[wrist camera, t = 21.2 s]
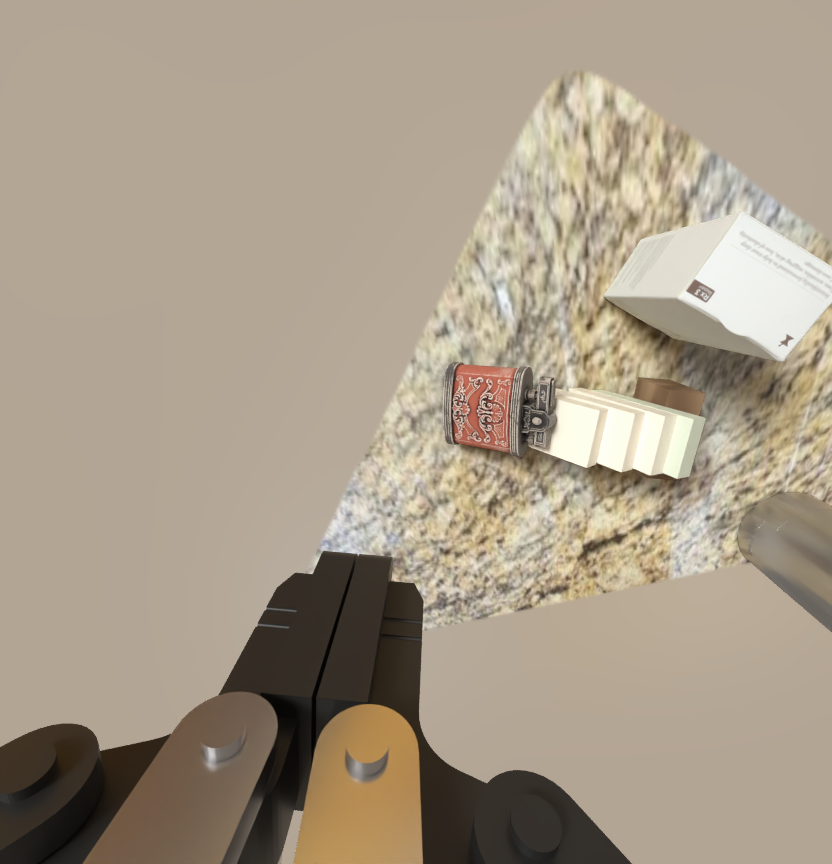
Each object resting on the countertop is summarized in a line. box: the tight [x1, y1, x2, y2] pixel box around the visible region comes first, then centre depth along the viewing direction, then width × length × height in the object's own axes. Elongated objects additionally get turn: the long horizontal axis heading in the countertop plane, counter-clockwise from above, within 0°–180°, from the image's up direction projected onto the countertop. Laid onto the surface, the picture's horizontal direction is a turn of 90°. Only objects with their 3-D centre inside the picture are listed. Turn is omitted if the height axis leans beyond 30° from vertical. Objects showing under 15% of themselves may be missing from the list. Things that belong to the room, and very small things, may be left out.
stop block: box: [634, 377, 706, 481], centre depth 41 cm, size 3×8×6 cm, turn 176°
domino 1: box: [528, 389, 609, 468], centre depth 40 cm, size 2×5×10 cm
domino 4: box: [591, 390, 706, 479], centre depth 39 cm, size 2×5×10 cm, turn 175°
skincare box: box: [604, 212, 832, 362], centre depth 33 cm, size 8×6×15 cm
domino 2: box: [537, 387, 646, 472], centre depth 40 cm, size 2×5×10 cm
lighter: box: [443, 362, 557, 457], centre depth 40 cm, size 8×3×10 cm
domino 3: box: [569, 388, 678, 476], centre depth 39 cm, size 2×5×10 cm, turn 175°
